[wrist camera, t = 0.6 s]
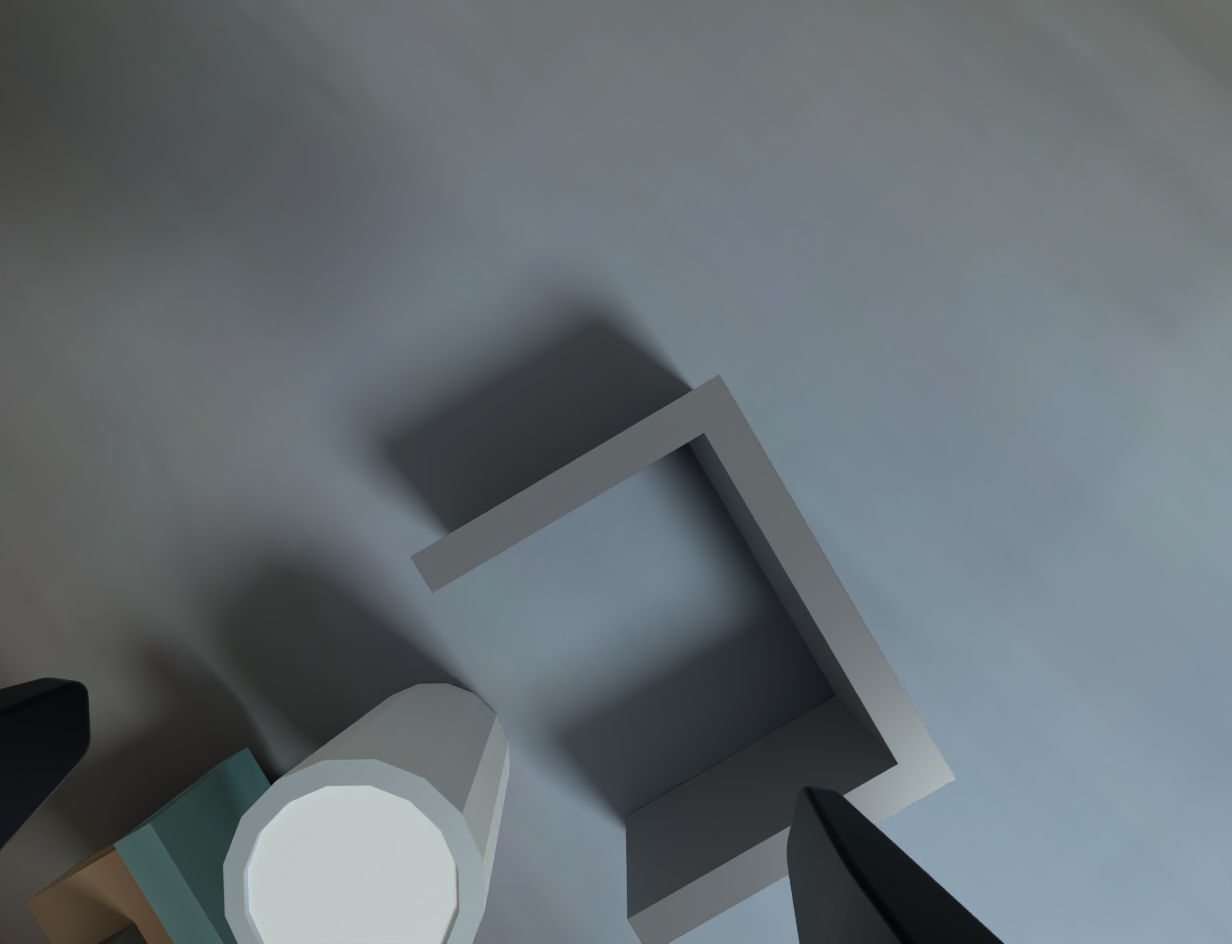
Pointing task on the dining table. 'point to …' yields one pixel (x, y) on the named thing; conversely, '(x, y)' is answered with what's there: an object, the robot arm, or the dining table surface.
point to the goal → (784, 759)
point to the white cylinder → (377, 830)
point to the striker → (158, 870)
